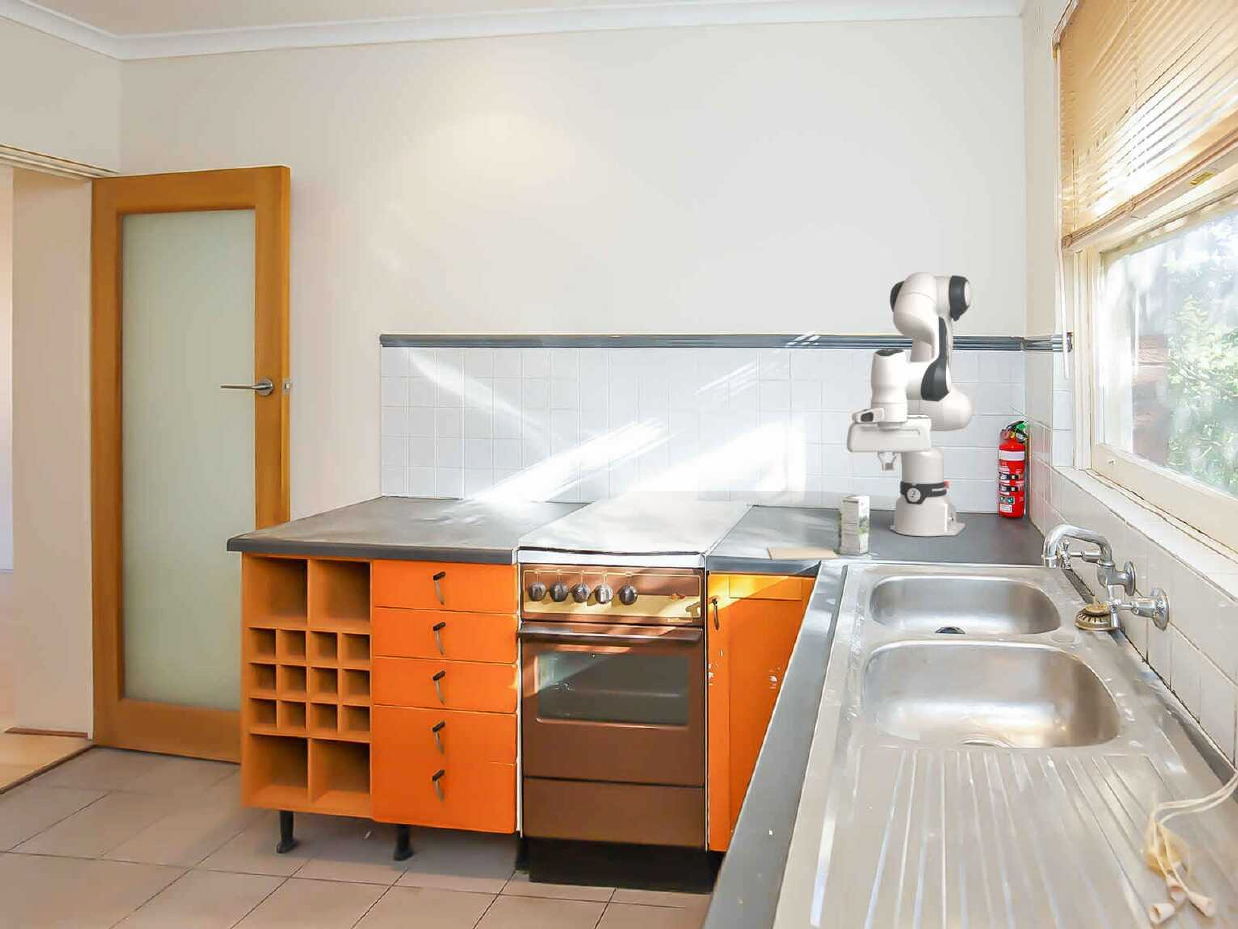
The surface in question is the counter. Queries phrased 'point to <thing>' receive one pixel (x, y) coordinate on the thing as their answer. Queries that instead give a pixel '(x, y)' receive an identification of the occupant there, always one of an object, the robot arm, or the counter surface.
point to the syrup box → (853, 525)
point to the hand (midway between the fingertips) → (888, 470)
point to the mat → (801, 553)
